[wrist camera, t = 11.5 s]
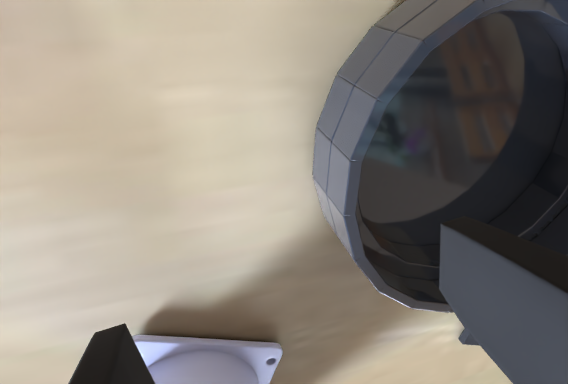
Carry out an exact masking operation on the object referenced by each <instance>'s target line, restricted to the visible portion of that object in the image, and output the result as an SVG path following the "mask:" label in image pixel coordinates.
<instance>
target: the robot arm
mask: <svg viewBox="0 0 568 384" xmlns="http://www.w3.org/2000/svg"><path fill="white" fill-rule="evenodd" d="M439 290H440V291H441V293H442V294H443V296H444V297H445V299H446V301H447V302H448V304H449V305H450V307H451V308H452V310H453V311H454V313H455V314H456V316H457V317H458V318H459V320H460V321H461V323H462V324H463V326H464V327H465V328H466V329H467V331H468V332H469V333H470V334H471V335H472V337H473V338H474V339H475V340H476V341H477V342H478V344H479V345H480V346H481V347H482V348H483V349H484V351H485V352H486V353H487V354H488V355H489V356H490V357H491V359H492V360H493V361H494V362H495V363H496V364H497V365H498V367H499V368H500V369H501V370H502V371H503V372H504V374H505V375H506V376H507V377H508V378H509V379H510V380H511V382H512V383H513V384H568V256H566V255H564V254H561V253H559V252H556V251H553V250H551V249H548V248H546V247H543V246H541V245H538V244H536V243H533V242H531V241H528V240H526V239H523V238H521V237H518V236H516V235H513V234H511V233H508V232H506V231H503V230H501V229H498V228H496V227H493V226H491V225H488V224H485V223H483V222H480V221H478V220H475V219H472V218H469V217H466V216H463V217H459V218H456V219H453V220H450V221H447V222H444V223H441V233H440V277H439ZM282 354H283V350H282V347H281V345H280V344H279V343H272V342H256V341H239V340H222V339H205V338H189V337H172V336H155V335H135V336H131V334H130V332H129V330H128V328H127V326H126V324H121V325H118V326H115V327H112V328H109V329H106V330H102V331H99V332H96V333H95V334H94V335H93V337H92V338H91V340H90V342H89V344H88V346H87V348H86V350H85V352H84V354H83V356H82V358H81V360H80V362H79V364H78V366H77V368H76V370H75V372H74V374H73V376H72V378H71V380H70V382H69V383H68V384H269V383H270V381H271V378H272V376H273V374H274V372H275V370H276V367H277V365H278V363H279V361H280V359H281V356H282ZM270 358H271V359H270Z"/></svg>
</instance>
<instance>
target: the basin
mask: <svg viewBox="0 0 568 384" xmlns="http://www.w3.org/2000/svg"><path fill="white" fill-rule="evenodd" d="M313 179H314V183H315V187H316V190H317V194H318V198H319V201H320V205H321V209H322V212H323V215H324V217H325V219H326V220H327V222H328V223H329V225H330V226H331V228H332V229H333V231H334V232H335V234H336V235H337V237H338V238H339V240H340V241H341V243H342V244H343V246H344V247H345V248H346V250H347V251H348V253H349V254H350V256H351V257H352V259H353V260H354V262H355V263H356V264H357V266H358V267H359V268H360V269H361V271H362V272H363V273H364V275H365V276H366V277H367V278H368V280H369V281H370V282H371V284H372V285H373V286H374V287H375V289H376V290H377V291H378V292H380V293H382V294H383V295H385V296H387V297H389V298H391V299H393V300H395V301H397V302H399V303H401V304H403V305H405V306H407V307H409V308H412V309H417V310H427V311H436V312H445V313H449V312H450V313H452V312H454V311H453V310H452V308H451V307H450V305H449V304H448V302H447V301H446V299H445V297H444V296H443V294H442V293H441V291H440V290H439V277H440V233H441V223H444V222H447V221H450V220H453V219H456V218H459V217H463V216H466V217H469V218H472V219H475V220H478V221H480V222H483V223H485V224H488V225H491V226H493V227H496V228H498V229H501V230H503V231H506V232H508V233H511V234H513V235H516V236H518V237H521V238H523V239H526V240H528V241H531V242H533V243H536V244H538V245H541V246H543V247H546V248H548V249H551V250H553V251H556V252H559V253H561V254H564V255H566V256H568V0H406V1H405V2H403V3H402V4H401V5H399V6H398V7H397V8H395V9H394V10H393V11H391V12H390V13H389V14H387V15H386V16H385V17H384V18H382V19H381V20H380V21H378V22H377V23H376V24H374V26H372V27H371V29H370V30H369V31H368V33H367V34H366V35H365V36H364V38H363V39H362V40H361V42H360V43H359V44H358V46H357V47H356V48H355V50H354V51H353V52H352V54H351V55H350V56H349V58H348V59H347V60H346V62H345V63H344V64H343V66H342V67H341V68H340V70H339V71H338V72H337V75H336V77H335V80H334V82H333V85H332V87H331V90H330V92H329V95H328V98H327V100H326V103H325V105H324V108H323V110H322V113H321V116H320V118H319V121H318V123H317V127H316V134H315V147H314V161H313Z"/></svg>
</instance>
